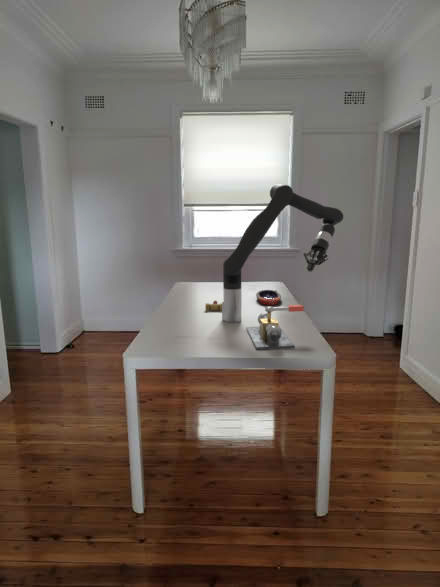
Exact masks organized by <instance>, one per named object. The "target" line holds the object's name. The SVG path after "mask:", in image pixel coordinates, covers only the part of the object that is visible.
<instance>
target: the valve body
mask: <svg viewBox="0 0 440 587" xmlns="http://www.w3.org/2000/svg"><path fill="white" fill-rule="evenodd" d="M257 322H258V323H259V326H246V328H245V329H246V332H247V334H248V336H249V338H250V340H251V342H252V343H253V346H254V348H255V349H256V351H261V350H262V351H263V350H264V351H265V350H267V351H268V350H286V349H295V348H296V345H295V344H294V343H293V341H292V340H291V339H290V337H288V335H287V334H286V332H285V331H284V330H283V329H282V328H281V327H280V323H279V321H278V320H277V319H276V318H275V317H273V318H272V312H267V313H266V312H263V313H262V312H261V313H260V314H259V315H258V316H257Z"/></svg>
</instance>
